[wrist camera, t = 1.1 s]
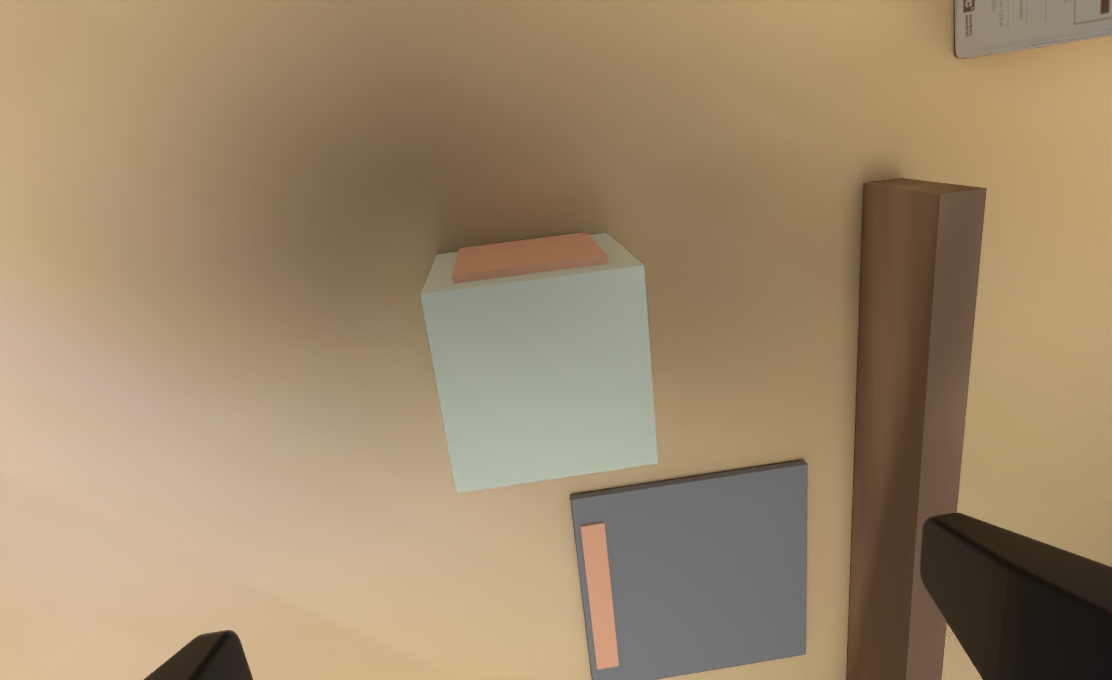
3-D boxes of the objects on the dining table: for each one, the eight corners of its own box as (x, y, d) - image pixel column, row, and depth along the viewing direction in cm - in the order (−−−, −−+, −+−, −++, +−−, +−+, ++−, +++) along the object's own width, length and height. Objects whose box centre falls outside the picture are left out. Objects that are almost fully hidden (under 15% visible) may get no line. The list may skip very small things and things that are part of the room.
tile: (803, 460, 22) (808, 465, 22) (802, 648, 25) (807, 656, 24) (570, 495, 22) (571, 501, 22) (592, 683, 24) (594, 692, 24)
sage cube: (605, 225, 19) (643, 256, 15) (620, 388, 21) (658, 463, 16) (435, 246, 19) (418, 285, 14) (463, 410, 21) (456, 493, 16)
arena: (902, 178, 20) (986, 188, 16) (873, 735, 27) (928, 821, 23) (356, 247, 19) (328, 272, 15) (472, 805, 26) (470, 906, 22)
